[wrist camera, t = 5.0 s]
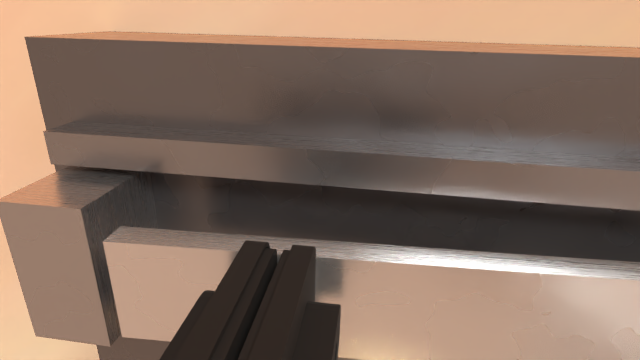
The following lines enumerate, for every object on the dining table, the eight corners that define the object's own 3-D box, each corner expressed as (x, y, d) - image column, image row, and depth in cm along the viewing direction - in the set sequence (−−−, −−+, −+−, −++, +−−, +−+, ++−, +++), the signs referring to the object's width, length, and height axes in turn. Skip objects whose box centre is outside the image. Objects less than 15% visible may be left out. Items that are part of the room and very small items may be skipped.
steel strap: (993, 282, 9) (1077, 318, 8) (918, 381, 11) (983, 424, 9) (124, 222, 11) (97, 245, 10) (140, 312, 12) (118, 342, 11)
